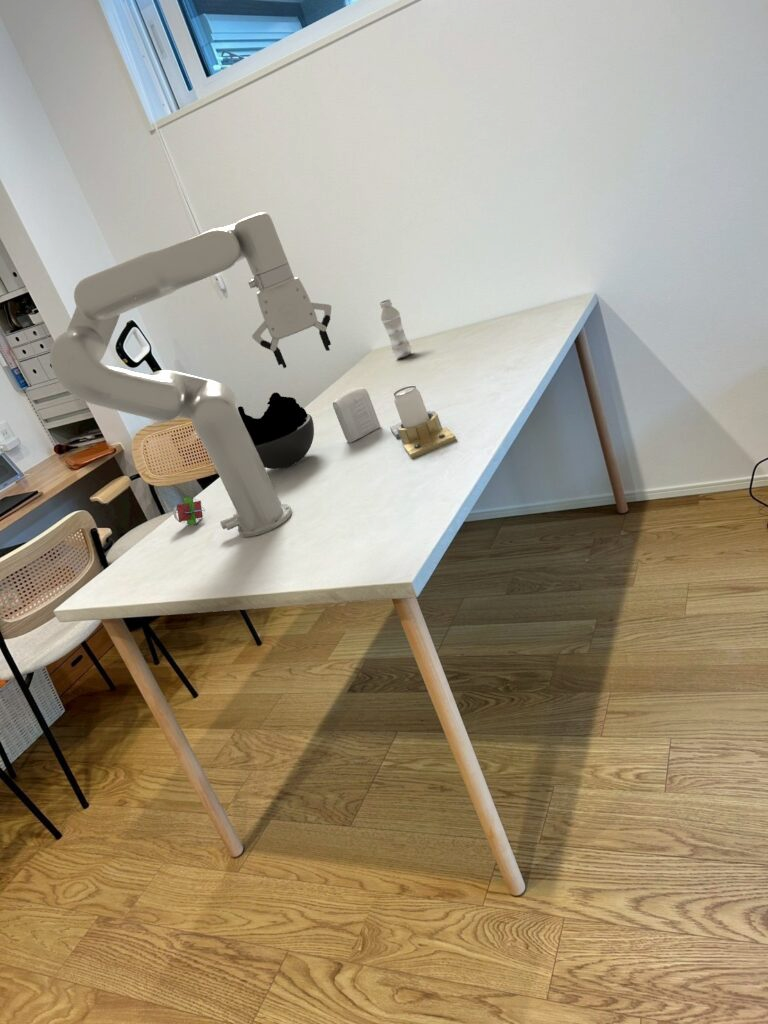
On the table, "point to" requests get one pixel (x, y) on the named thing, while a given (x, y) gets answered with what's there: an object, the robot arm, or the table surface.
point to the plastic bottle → (395, 330)
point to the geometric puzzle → (188, 511)
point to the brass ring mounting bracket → (423, 436)
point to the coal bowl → (280, 432)
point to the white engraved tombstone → (355, 413)
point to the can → (410, 407)
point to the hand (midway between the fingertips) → (306, 358)
